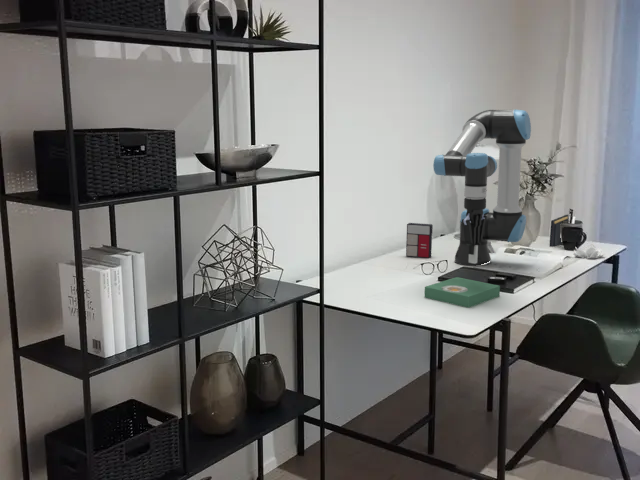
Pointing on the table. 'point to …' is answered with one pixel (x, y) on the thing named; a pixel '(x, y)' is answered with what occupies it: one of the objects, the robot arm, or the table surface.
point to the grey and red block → (419, 240)
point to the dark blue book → (556, 230)
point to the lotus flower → (588, 252)
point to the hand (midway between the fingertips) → (472, 262)
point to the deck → (462, 292)
